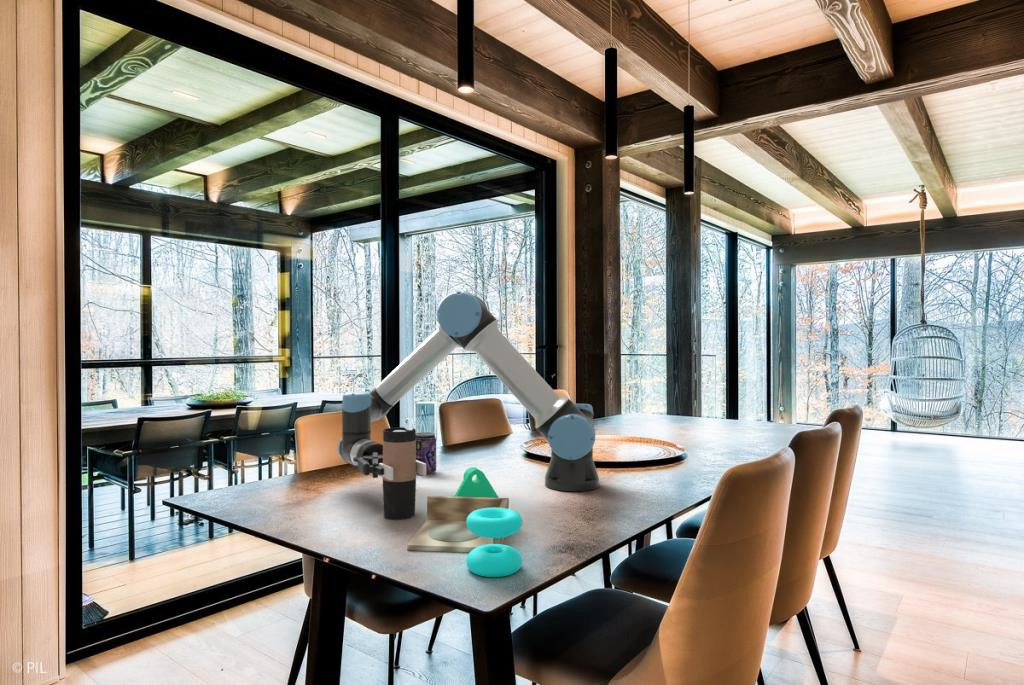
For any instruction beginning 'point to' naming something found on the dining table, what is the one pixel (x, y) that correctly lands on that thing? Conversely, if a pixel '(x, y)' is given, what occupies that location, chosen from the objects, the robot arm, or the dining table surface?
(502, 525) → the donuts
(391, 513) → the travel mug
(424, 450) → the beverage can
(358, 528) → the dining table surface
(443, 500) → the corner tray
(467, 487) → the camera mount
